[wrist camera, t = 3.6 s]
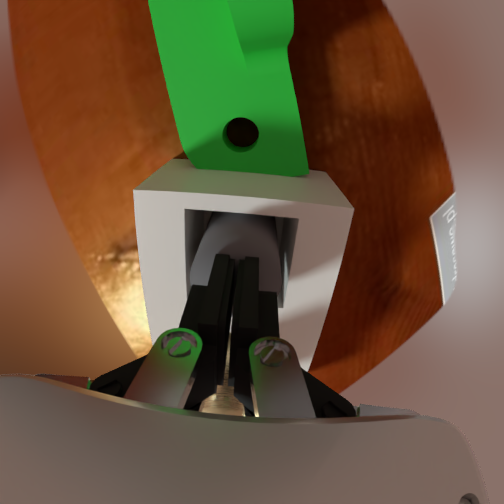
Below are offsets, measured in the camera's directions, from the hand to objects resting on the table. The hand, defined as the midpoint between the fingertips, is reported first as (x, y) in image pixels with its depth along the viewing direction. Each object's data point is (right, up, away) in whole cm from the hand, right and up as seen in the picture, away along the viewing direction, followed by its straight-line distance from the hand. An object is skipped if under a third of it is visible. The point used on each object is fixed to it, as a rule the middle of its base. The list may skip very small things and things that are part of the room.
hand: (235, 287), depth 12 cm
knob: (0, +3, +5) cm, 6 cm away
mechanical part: (-1, +11, +3) cm, 11 cm away
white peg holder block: (0, -2, +10) cm, 10 cm away
